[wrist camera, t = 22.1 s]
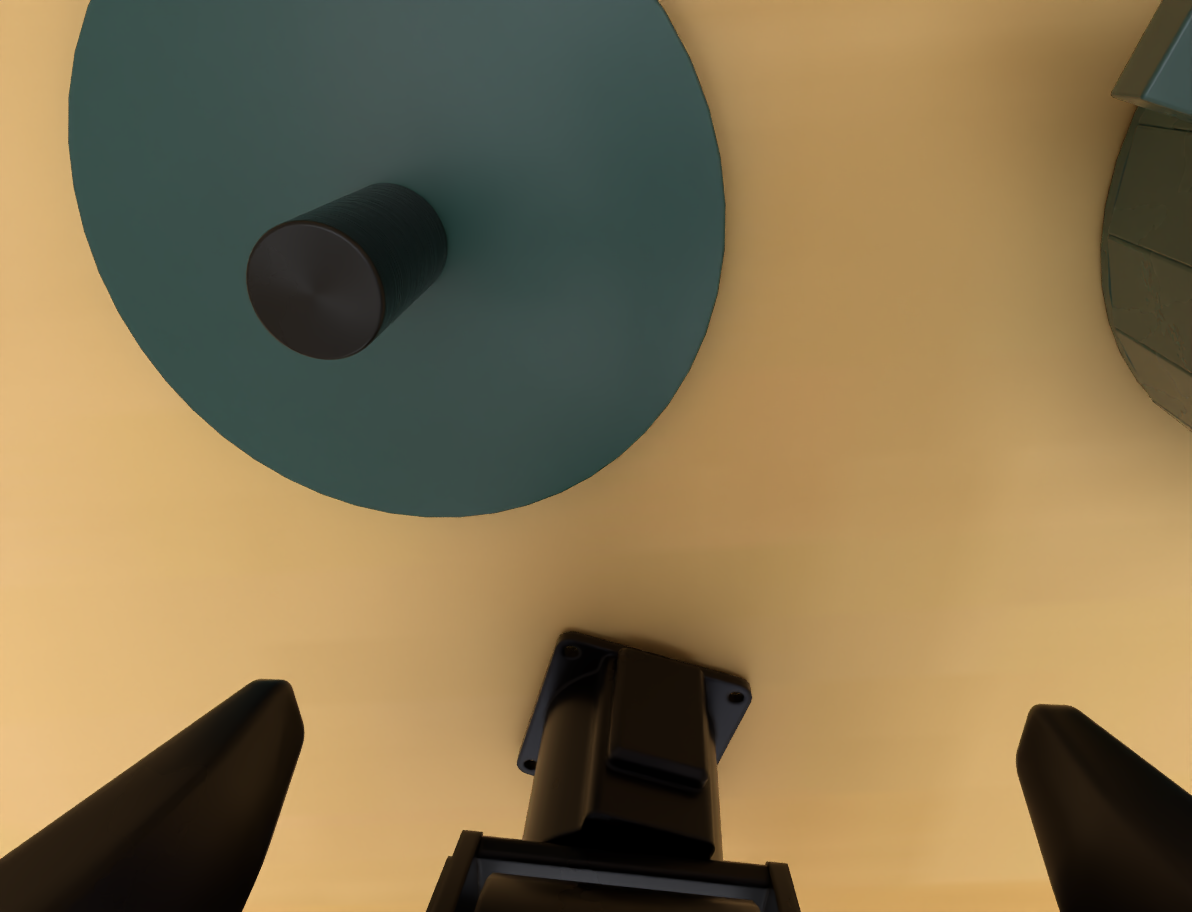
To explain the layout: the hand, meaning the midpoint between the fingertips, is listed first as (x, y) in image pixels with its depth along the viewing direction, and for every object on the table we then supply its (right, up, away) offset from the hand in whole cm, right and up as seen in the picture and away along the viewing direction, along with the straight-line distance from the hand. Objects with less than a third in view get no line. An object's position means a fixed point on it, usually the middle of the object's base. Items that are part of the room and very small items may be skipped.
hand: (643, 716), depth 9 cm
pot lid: (-5, +8, +9) cm, 13 cm away
